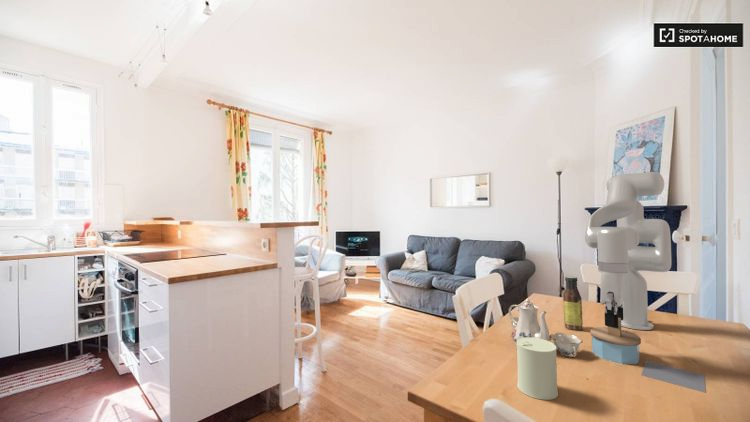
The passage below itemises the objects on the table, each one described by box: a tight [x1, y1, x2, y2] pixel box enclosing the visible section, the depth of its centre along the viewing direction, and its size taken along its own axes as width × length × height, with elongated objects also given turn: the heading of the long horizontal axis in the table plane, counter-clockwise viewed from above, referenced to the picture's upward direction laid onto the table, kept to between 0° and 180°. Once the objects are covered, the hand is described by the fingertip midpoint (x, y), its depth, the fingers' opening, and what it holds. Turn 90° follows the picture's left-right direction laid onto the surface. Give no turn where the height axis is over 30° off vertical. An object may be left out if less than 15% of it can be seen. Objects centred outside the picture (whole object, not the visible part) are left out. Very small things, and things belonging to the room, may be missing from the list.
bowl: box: [591, 335, 640, 365], centre depth 96 cm, size 11×11×6 cm
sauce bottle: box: [562, 275, 584, 331], centre depth 122 cm, size 7×6×20 cm
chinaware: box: [508, 298, 583, 358], centre depth 106 cm, size 28×17×17 cm, turn 23°
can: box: [516, 337, 559, 401], centre depth 79 cm, size 9×9×12 cm
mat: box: [641, 360, 707, 393], centre depth 84 cm, size 12×12×1 cm
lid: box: [590, 318, 642, 346], centre depth 96 cm, size 12×12×6 cm
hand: (614, 322), depth 96 cm, fingers open, 9 cm apart
